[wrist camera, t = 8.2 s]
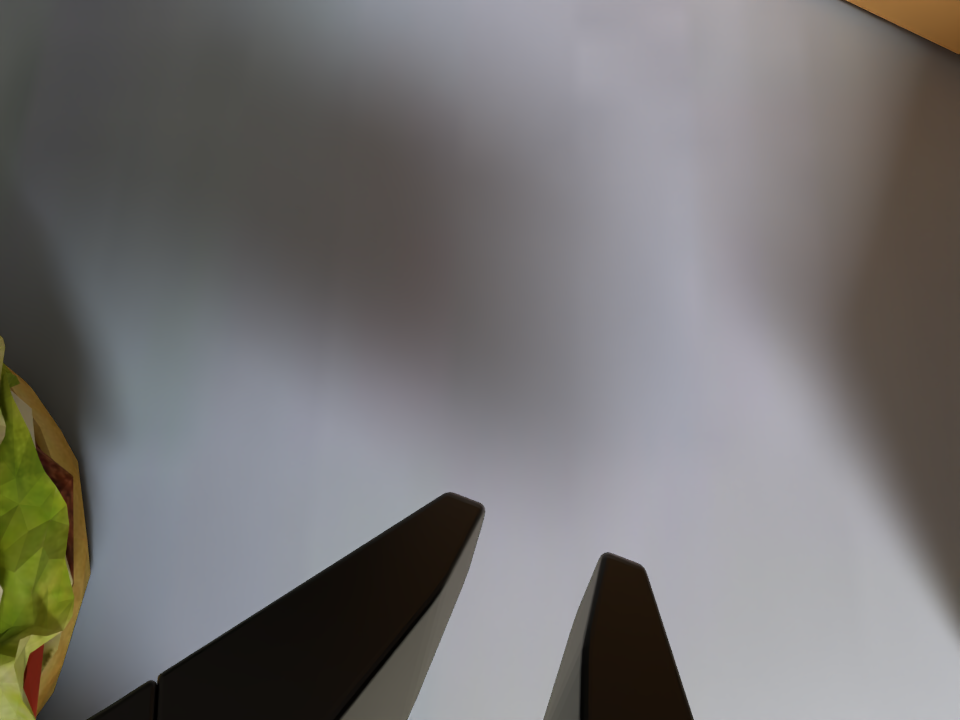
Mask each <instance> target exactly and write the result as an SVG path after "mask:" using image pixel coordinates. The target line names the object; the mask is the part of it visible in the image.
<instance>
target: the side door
mask: <svg viewBox="0 0 960 720" xmlns="http://www.w3.org/2000/svg"><path fill="white" fill-rule="evenodd" d="M846 1H848V2H850V3H853V4H855V5H857V6H859V7H861V8H863V9H865V10H867V11H869V12H871V13H873V14H875V15H878V16H880V17H882V18H884V19H886V20H888V21H890V22H892V23H894V24H896V25H898V26H901V27H903V28H905V29H907V30H909V31H911V32H913V33H915V34H917V35H919V36H921V37H923V38H926V39H928V40H930V41H932V42H934V43H936V44H938V45H940V46H942V47H944V48H946V49H948V50H951V51H953V52H955V53H957V54H959V55H960V0H846Z"/></svg>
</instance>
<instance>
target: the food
mask: <svg viewBox="0 0 960 720" xmlns="http://www.w3.org/2000/svg"><path fill="white" fill-rule="evenodd" d="M4 351H5V344H4V340H3V338H2V337H1V336H0V720H36V716H37V715H38V713H39V712H40V711H41V709H42V708H43V706H44V705H45V704H46V702H47V701H48V699H49V698H50V696H51V695H52V694H53V692H54V689H55V686H56V683H57V680H58V677H59V674H60V671H61V668H62V665H63V662H64V659H65V655H66V652H67V649H68V646H69V642H70V639H71V636H72V632H73V629H74V626H75V623H76V619H77V616H78V613H79V610H80V606H81V603H82V600H83V596H84V593H85V590H86V587H87V583H88V580H89V577H90V574H91V573H90V563H89V553H88V542H87V534H86V525H85V517H84V508H83V500H82V492H81V483H80V475H79V467H78V461H77V459H76V457H75V456H74V454H73V452H72V450H71V448H70V446H69V445H68V443H67V441H66V439H65V437H64V435H63V433H62V432H61V430H60V428H59V427H58V426H57V424H56V423H55V421H54V420H53V418H52V417H51V415H50V414H49V413H48V411H47V410H46V408H45V407H44V405H43V404H42V402H41V401H40V399H39V398H38V397H37V395H36V394H35V392H34V391H33V389H32V388H31V387H30V386H29V385H28V384H27V383H26V382H25V381H24V380H23V379H22V378H21V377H20V376H18V375H17V374H16V373H15V372H13V371H12V370H11V369H10V368H9V367H7V366H6V365H5V364H4V363H3V358H4Z"/></svg>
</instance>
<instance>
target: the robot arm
mask: <svg viewBox="0 0 960 720" xmlns="http://www.w3.org/2000/svg"><path fill="white" fill-rule="evenodd" d="M484 516H485V508H484V506H483V504H481V503H479V502H476V501H474V500H471V499H469V498H466V497H463V496H461V495H458V494H456V493H452V492H448V493H445V494H443V495H441V496H439V497H438V498H436V499H435V500H433V501H432V502H430V503H428V504H427V505H425V506H424V507H422V508H421V509H419V510H417V511H416V512H414V513H413V514H411V515H410V516H408V517H406V518H405V519H403V520H402V521H400V522H399V523H397V524H395V525H394V526H392V527H391V528H389V529H388V530H386V531H384V532H383V533H381V534H380V535H378V536H377V537H375V538H373V539H372V540H370V541H369V542H367V543H366V544H364V545H362V546H361V547H359V548H358V549H356V550H355V551H353V552H351V553H350V554H348V555H347V556H345V557H343V558H342V559H340V560H339V561H337V562H336V563H334V564H332V565H331V566H329V567H328V568H326V569H325V570H323V571H321V572H320V573H318V574H317V575H315V576H314V577H312V578H310V579H309V580H307V581H306V582H304V583H303V584H301V585H299V586H298V587H296V588H295V589H293V590H292V591H290V592H288V593H287V594H285V595H284V596H282V597H281V598H279V599H277V600H276V601H274V602H273V603H271V604H270V605H268V606H266V607H265V608H263V609H262V610H260V611H259V612H257V613H255V614H254V615H252V616H251V617H249V618H248V619H246V620H244V621H243V622H241V623H240V624H238V625H236V626H235V627H233V628H232V629H230V630H229V631H227V632H225V633H224V634H222V635H221V636H219V637H218V638H216V639H214V640H213V641H211V642H210V643H208V644H207V645H205V646H203V647H202V648H200V649H199V650H197V651H196V652H194V653H192V654H191V655H189V656H188V657H186V658H185V659H183V660H181V661H180V662H178V663H177V664H175V665H174V666H172V667H170V668H169V669H167V670H166V671H164V672H163V673H161V674H160V675H159V676H158V680H157V683H156V682H155V681H153V680H150V681H147V682H146V683H144V684H143V685H141V686H140V687H138V688H137V689H135V690H133V691H132V692H130V693H129V694H127V695H126V696H124V697H123V698H121V699H119V700H118V701H116V702H115V703H113V704H112V705H110V706H109V707H107V708H105V709H104V710H102V711H100V712H99V713H97V714H95V715H94V716H92V717H90V718H89V719H87V720H407V719H408V717H409V714H410V712H411V710H412V708H413V706H414V703H415V701H416V699H417V697H418V694H419V692H420V689H421V687H422V684H423V682H424V679H425V677H426V675H427V672H428V670H429V667H430V665H431V662H432V660H433V657H434V655H435V653H436V650H437V648H438V645H439V643H440V640H441V638H442V635H443V633H444V631H445V628H446V626H447V623H448V621H449V618H450V616H451V613H452V611H453V609H454V606H455V604H456V601H457V599H458V596H459V594H460V591H461V589H462V587H463V584H464V581H465V579H466V576H467V573H468V571H469V568H470V564H471V561H472V558H473V554H474V551H475V547H476V544H477V541H478V537H479V534H480V530H481V527H482V523H483V520H484ZM543 720H694V719H693V716H692V713H691V709H690V706H689V703H688V700H687V697H686V694H685V691H684V688H683V685H682V682H681V678H680V675H679V672H678V669H677V666H676V663H675V660H674V657H673V654H672V650H671V647H670V644H669V641H668V638H667V635H666V632H665V629H664V626H663V622H662V619H661V616H660V613H659V610H658V607H657V604H656V601H655V598H654V594H653V591H652V588H651V585H650V582H649V579H648V576H647V573H646V570H645V569H644V567H643V566H642V565H640V564H638V563H636V562H633V561H631V560H628V559H625V558H623V557H620V556H618V555H615V554H612V553H609V552H607V553H604V554H603V555H601V557H600V558H599V560H598V563H597V565H596V567H595V570H594V572H593V575H592V577H591V579H590V582H589V584H588V587H587V589H586V591H585V594H584V596H583V599H582V601H581V604H580V606H579V608H578V611H577V614H576V617H575V619H574V622H573V625H572V629H571V632H570V635H569V638H568V641H567V645H566V648H565V651H564V654H563V658H562V661H561V664H560V667H559V671H558V674H557V677H556V680H555V684H554V687H553V690H552V693H551V697H550V700H549V703H548V706H547V710H546V713H545V716H544V719H543Z"/></svg>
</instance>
